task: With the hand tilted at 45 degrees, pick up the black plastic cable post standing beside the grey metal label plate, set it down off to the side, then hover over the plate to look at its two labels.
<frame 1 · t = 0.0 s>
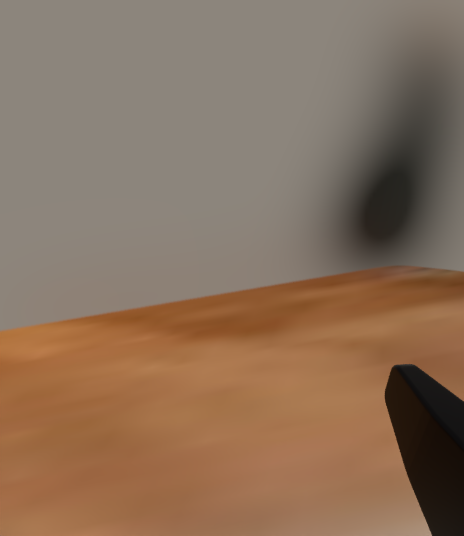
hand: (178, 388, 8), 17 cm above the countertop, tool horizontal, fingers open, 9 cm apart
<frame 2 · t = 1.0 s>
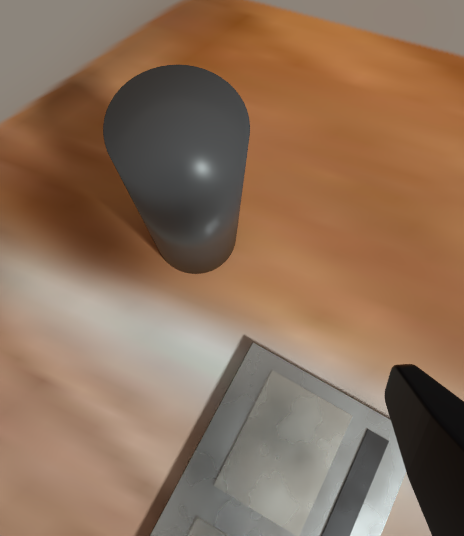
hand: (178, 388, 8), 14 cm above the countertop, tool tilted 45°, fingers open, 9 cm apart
label plate: (264, 532, 20), on the countertop
cable post: (196, 235, 23), on the countertop
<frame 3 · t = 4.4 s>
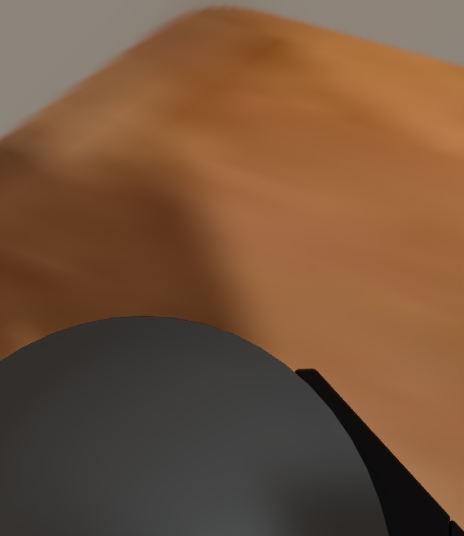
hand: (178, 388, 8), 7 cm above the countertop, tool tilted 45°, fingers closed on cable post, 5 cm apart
cable post: (197, 415, 14), on the countertop, touching gripper
when the fingers open (8 cm above the countertop, at t = 8.4 s): cable post drops 1 cm, on the countertop.
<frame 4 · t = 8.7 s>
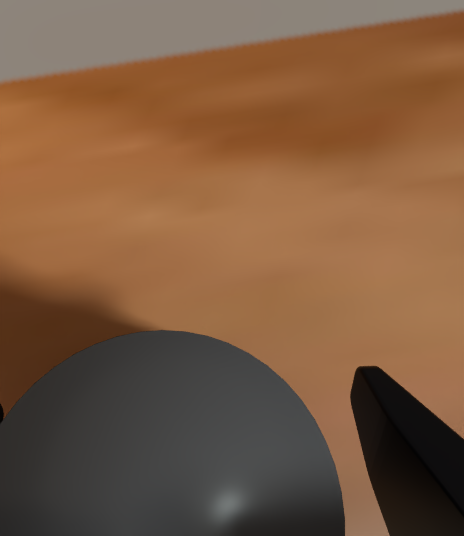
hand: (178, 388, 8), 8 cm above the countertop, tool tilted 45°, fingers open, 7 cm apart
cable post: (199, 411, 16), on the countertop
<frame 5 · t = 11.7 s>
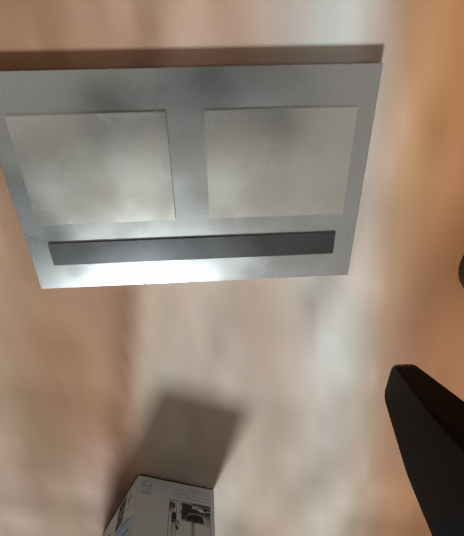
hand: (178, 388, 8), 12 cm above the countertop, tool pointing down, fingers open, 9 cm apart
label plate: (191, 185, 18), on the countertop
light bulb box: (156, 510, 33), on the countertop
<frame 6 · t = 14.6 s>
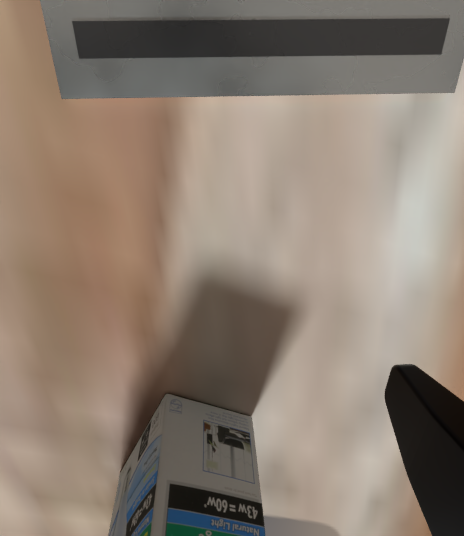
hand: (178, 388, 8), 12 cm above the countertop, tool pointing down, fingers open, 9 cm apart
light bulb box: (182, 444, 29), on the countertop
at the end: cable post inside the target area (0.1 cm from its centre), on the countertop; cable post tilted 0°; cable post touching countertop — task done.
